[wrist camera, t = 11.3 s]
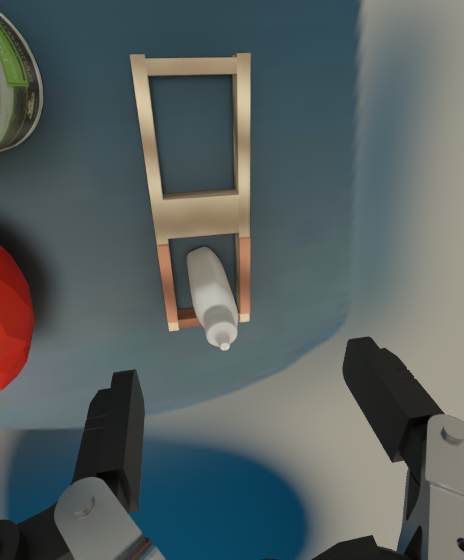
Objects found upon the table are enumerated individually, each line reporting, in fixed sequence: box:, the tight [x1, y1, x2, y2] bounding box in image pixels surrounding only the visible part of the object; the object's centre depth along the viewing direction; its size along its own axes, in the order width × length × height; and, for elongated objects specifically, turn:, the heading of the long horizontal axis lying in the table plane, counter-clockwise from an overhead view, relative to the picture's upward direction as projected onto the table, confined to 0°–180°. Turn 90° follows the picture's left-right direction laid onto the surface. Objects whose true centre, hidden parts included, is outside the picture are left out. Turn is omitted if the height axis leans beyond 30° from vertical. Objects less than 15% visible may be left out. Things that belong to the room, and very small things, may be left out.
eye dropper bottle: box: [187, 247, 238, 350], centre depth 30 cm, size 4×6×12 cm
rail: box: [130, 53, 250, 331], centre depth 31 cm, size 24×8×2 cm, turn 1°
